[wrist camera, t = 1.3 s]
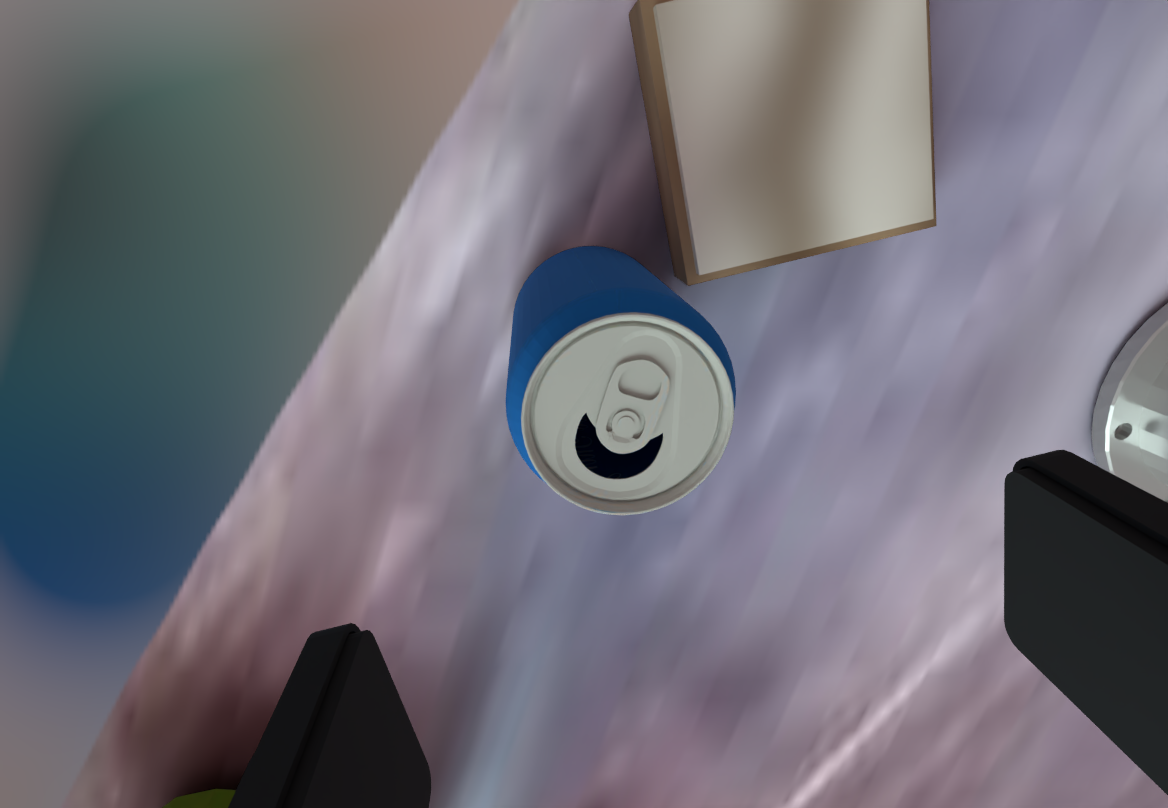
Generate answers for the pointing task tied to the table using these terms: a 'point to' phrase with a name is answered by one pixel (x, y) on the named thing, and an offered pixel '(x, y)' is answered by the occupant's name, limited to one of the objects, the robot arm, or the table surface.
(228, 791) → the apple
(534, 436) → the beverage can
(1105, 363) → the table surface
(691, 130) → the pedestal
